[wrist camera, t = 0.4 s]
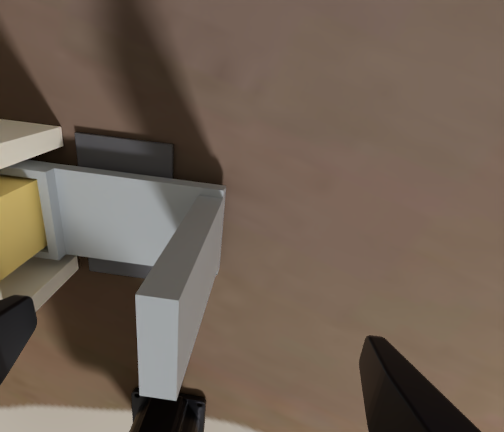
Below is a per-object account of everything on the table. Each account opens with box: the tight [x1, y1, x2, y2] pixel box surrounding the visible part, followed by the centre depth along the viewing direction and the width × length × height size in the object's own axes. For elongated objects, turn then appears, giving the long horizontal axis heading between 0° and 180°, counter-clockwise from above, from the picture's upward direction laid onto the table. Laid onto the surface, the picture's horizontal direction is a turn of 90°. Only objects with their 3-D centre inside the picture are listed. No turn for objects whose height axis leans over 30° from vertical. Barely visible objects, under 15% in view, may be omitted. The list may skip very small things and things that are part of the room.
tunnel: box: [0, 119, 173, 312], centre depth 19 cm, size 10×15×8 cm
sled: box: [0, 160, 226, 401], centre depth 17 cm, size 6×17×10 cm, turn 84°
